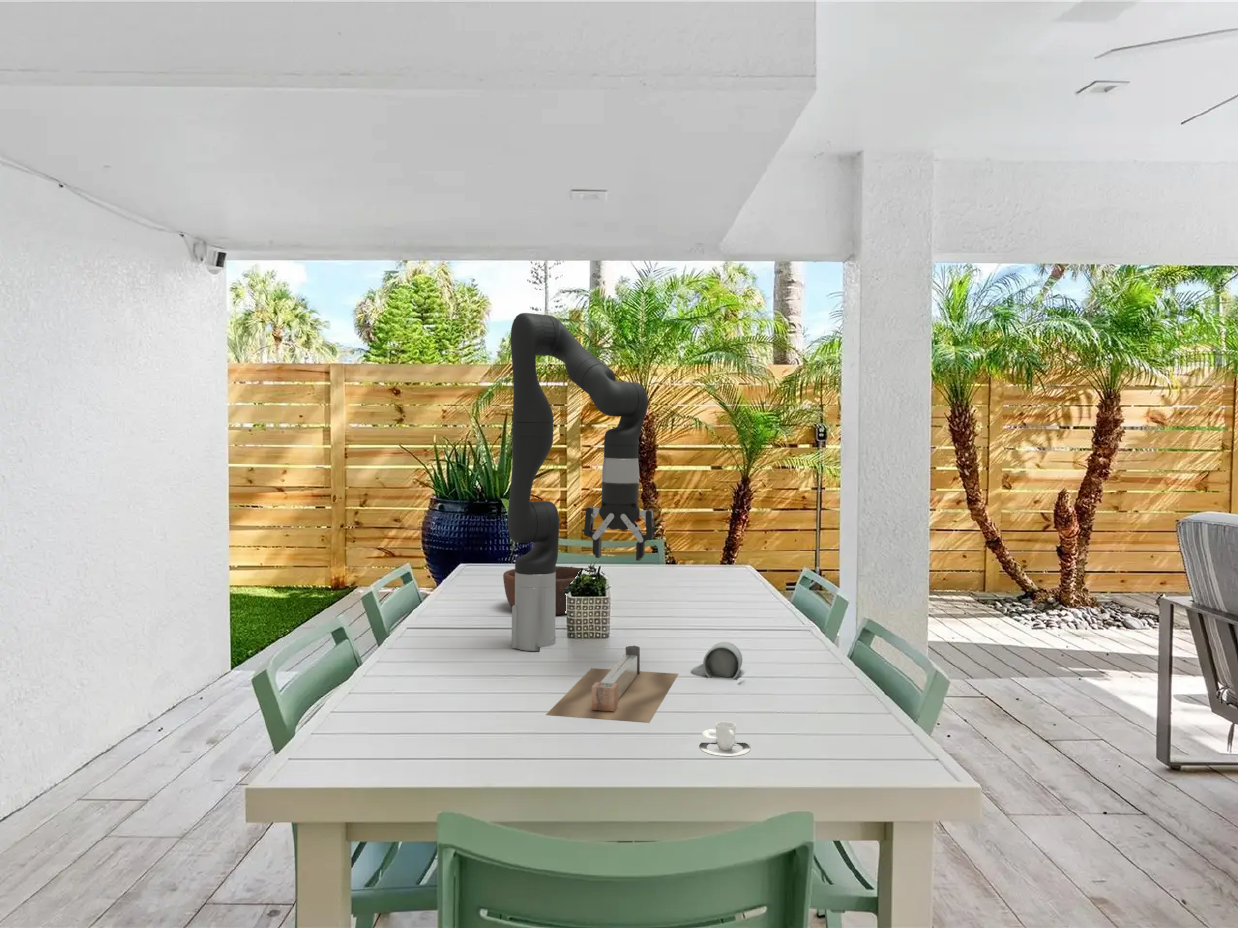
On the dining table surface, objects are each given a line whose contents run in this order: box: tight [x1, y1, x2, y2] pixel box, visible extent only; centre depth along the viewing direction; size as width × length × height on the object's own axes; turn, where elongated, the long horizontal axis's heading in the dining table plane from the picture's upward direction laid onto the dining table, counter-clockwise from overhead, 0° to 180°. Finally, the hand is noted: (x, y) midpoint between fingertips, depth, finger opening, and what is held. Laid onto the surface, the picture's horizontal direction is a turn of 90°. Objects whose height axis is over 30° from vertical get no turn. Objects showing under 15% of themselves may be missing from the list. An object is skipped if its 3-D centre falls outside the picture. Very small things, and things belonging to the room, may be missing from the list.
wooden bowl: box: [502, 565, 590, 616], centre depth 258 cm, size 25×25×10 cm
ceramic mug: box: [690, 641, 743, 680], centre depth 187 cm, size 10×8×7 cm
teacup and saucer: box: [699, 721, 751, 757], centre depth 147 cm, size 9×8×4 cm
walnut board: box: [545, 645, 679, 724], centre depth 173 cm, size 18×32×6 cm, turn 168°
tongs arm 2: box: [603, 655, 637, 711], centre depth 173 cm, size 24×2×4 cm, turn 167°
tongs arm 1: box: [592, 654, 630, 711], centre depth 173 cm, size 24×2×4 cm, turn 168°
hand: (618, 558), depth 191 cm, fingers open, 8 cm apart
